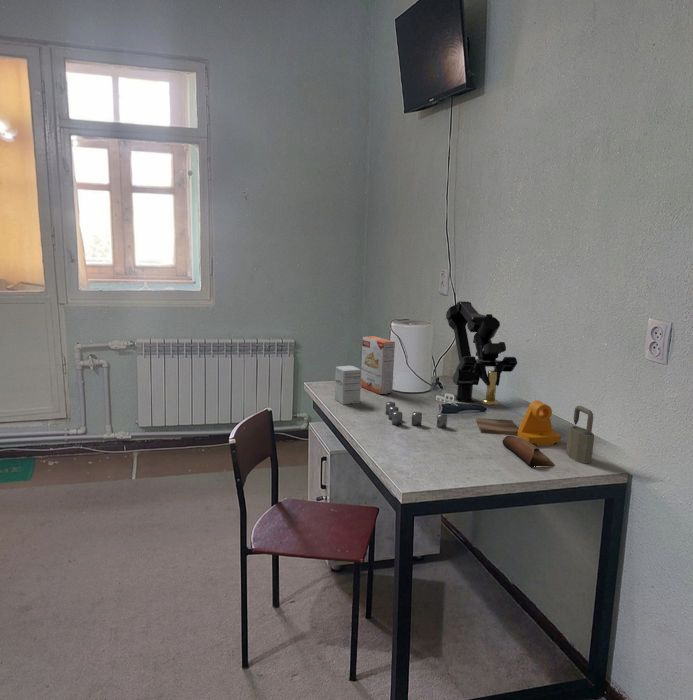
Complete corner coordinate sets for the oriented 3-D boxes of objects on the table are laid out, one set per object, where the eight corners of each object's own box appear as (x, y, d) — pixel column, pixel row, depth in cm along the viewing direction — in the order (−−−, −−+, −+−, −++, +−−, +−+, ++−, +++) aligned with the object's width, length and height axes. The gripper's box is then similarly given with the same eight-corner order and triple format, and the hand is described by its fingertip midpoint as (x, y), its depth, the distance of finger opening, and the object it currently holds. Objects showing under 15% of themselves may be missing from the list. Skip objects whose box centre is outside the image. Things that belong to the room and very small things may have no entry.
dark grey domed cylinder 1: (385, 412, 205) (386, 401, 204) (394, 413, 205) (395, 402, 204) (385, 415, 202) (386, 404, 201) (394, 415, 202) (395, 404, 201)
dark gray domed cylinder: (411, 423, 194) (412, 411, 194) (421, 423, 194) (421, 412, 193) (411, 426, 191) (412, 414, 190) (421, 426, 191) (422, 415, 190)
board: (475, 420, 199) (476, 418, 199) (512, 423, 198) (512, 420, 198) (480, 432, 188) (481, 429, 187) (519, 434, 187) (519, 431, 186)
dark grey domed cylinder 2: (388, 417, 200) (389, 406, 199) (397, 418, 199) (398, 406, 199) (388, 420, 197) (389, 408, 196) (397, 420, 196) (398, 409, 196)
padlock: (575, 452, 172) (581, 403, 170) (593, 463, 165) (599, 411, 162) (563, 453, 171) (569, 403, 169) (581, 464, 164) (587, 412, 161)
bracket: (529, 446, 177) (533, 407, 175) (517, 438, 184) (520, 400, 181) (561, 444, 179) (565, 406, 177) (548, 436, 186) (552, 400, 184)
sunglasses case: (558, 466, 161) (549, 447, 159) (537, 480, 160) (527, 460, 159) (528, 444, 178) (519, 426, 177) (508, 456, 178) (499, 438, 176)
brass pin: (479, 402, 199) (482, 370, 197) (488, 400, 203) (491, 369, 200) (491, 406, 196) (494, 373, 194) (500, 403, 199) (503, 372, 197)
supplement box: (333, 399, 219) (335, 366, 217) (351, 397, 222) (353, 365, 220) (342, 404, 213) (343, 370, 210) (360, 403, 216) (362, 369, 213)
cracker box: (359, 387, 238) (362, 336, 234) (371, 385, 242) (374, 335, 238) (380, 395, 227) (383, 342, 223) (392, 393, 230) (395, 341, 226)
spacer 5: (436, 425, 193) (437, 413, 192) (446, 425, 193) (446, 414, 192) (436, 428, 190) (437, 416, 189) (446, 429, 190) (447, 417, 189)
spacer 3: (391, 422, 194) (392, 410, 193) (401, 423, 194) (402, 411, 193) (391, 425, 191) (392, 413, 190) (401, 426, 191) (402, 414, 190)
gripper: (464, 332, 198) (473, 372, 189) (517, 333, 200) (528, 372, 191) (455, 351, 207) (463, 389, 198) (506, 352, 209) (516, 390, 200)
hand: (493, 385), depth 197 cm, fingers closed on brass pin, 3 cm apart
